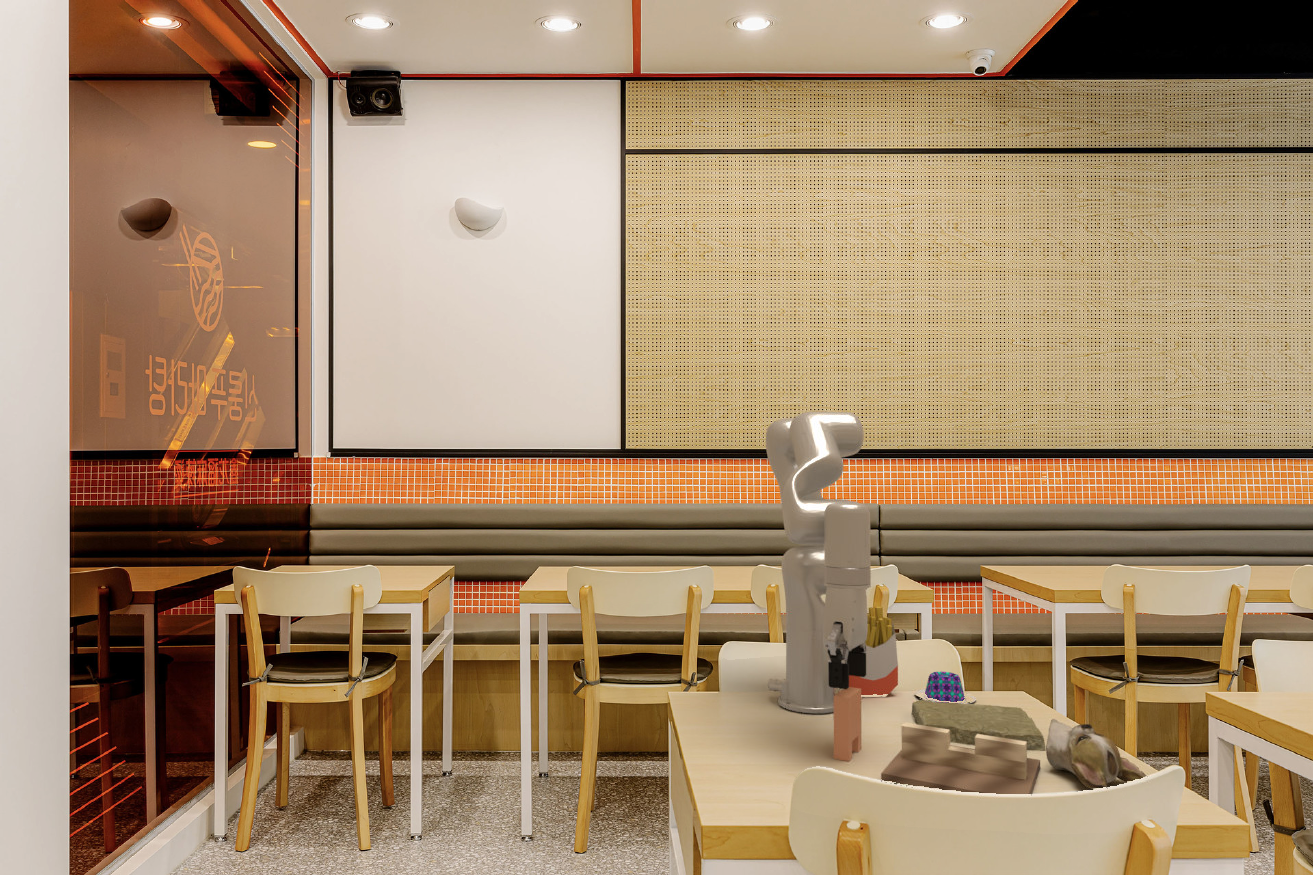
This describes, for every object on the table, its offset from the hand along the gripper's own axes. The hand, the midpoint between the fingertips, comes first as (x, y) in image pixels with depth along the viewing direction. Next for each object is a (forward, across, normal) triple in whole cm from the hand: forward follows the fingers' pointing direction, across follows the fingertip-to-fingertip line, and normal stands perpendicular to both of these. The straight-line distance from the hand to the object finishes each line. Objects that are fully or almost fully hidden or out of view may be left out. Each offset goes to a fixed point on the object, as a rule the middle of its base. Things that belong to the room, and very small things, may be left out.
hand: (847, 681), depth 136 cm
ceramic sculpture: (+12, -8, +35) cm, 38 cm away
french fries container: (+12, -38, -7) cm, 41 cm away
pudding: (+12, -44, +7) cm, 46 cm away
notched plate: (+12, 0, 0) cm, 12 cm away
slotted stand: (+12, 0, +18) cm, 21 cm away
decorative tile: (+12, -24, +16) cm, 31 cm away
